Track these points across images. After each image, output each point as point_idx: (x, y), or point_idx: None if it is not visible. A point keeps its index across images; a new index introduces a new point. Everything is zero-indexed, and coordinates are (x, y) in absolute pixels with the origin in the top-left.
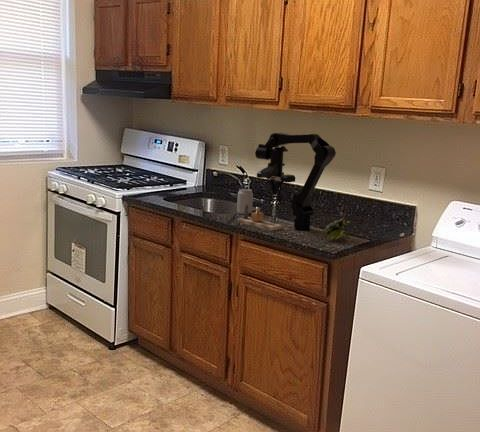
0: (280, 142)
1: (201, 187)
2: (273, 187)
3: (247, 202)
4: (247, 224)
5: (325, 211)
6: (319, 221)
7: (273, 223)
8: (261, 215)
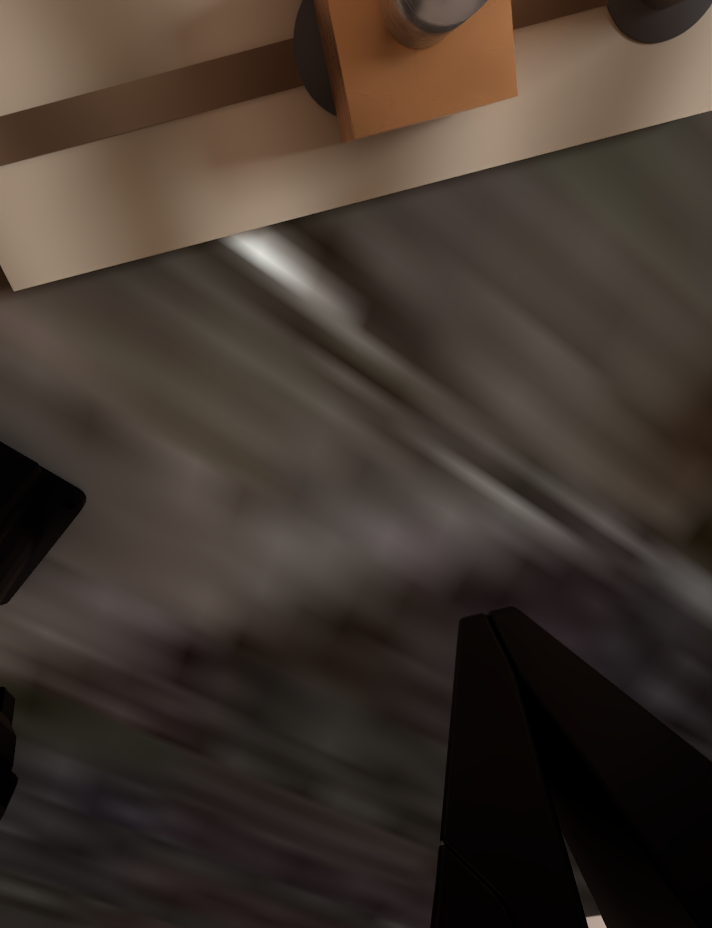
0: None
1: None
2: (634, 858)
3: None
4: None
5: None
6: (267, 780)
7: (162, 231)
8: (336, 73)
